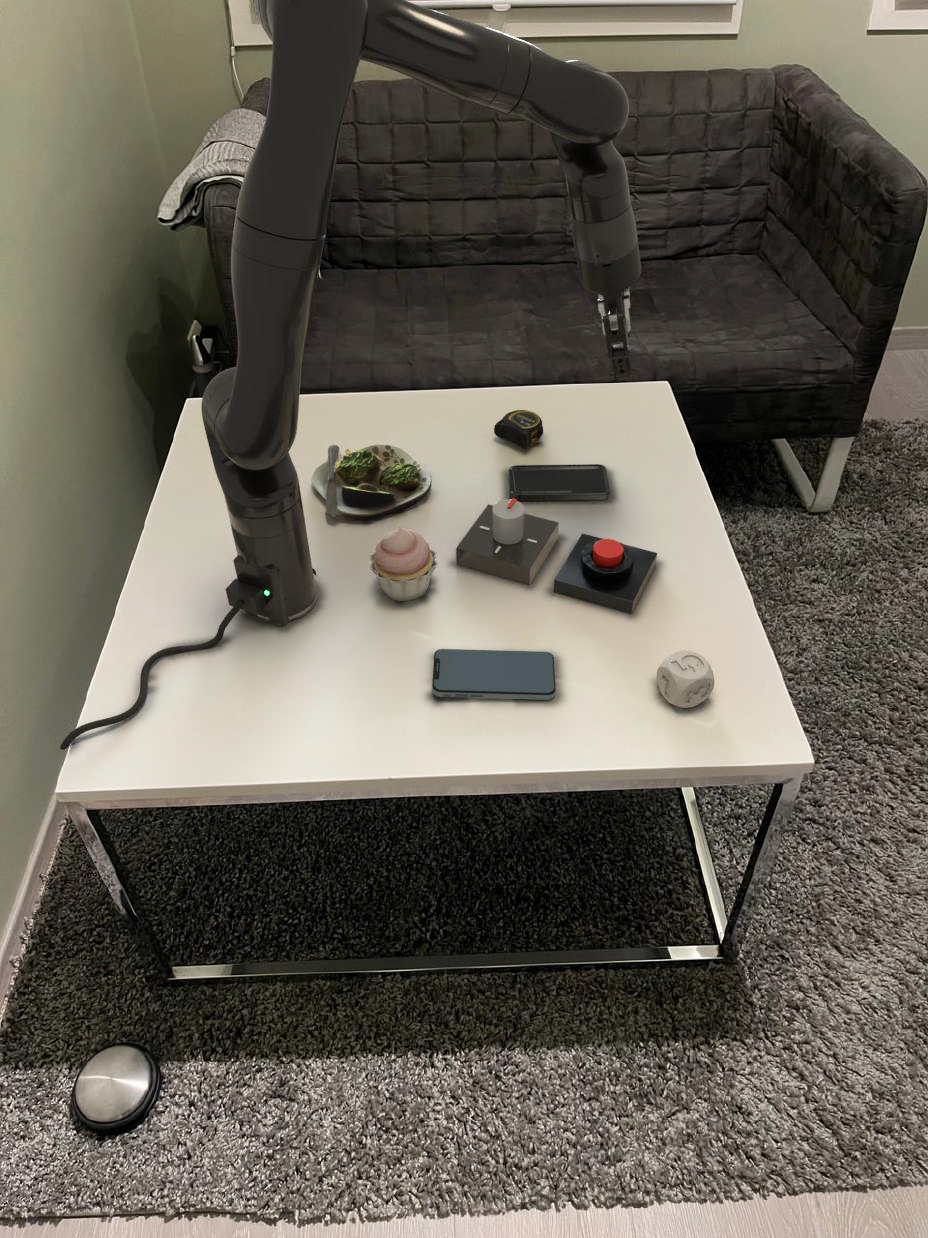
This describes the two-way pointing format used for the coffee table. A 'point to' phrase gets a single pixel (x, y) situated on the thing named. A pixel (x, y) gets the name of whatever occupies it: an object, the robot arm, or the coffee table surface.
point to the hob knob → (508, 521)
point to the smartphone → (493, 674)
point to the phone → (558, 482)
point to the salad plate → (370, 482)
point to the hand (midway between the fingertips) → (622, 356)
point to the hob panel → (507, 548)
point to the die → (685, 678)
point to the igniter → (605, 576)
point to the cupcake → (403, 564)
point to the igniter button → (607, 553)
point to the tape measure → (520, 428)
